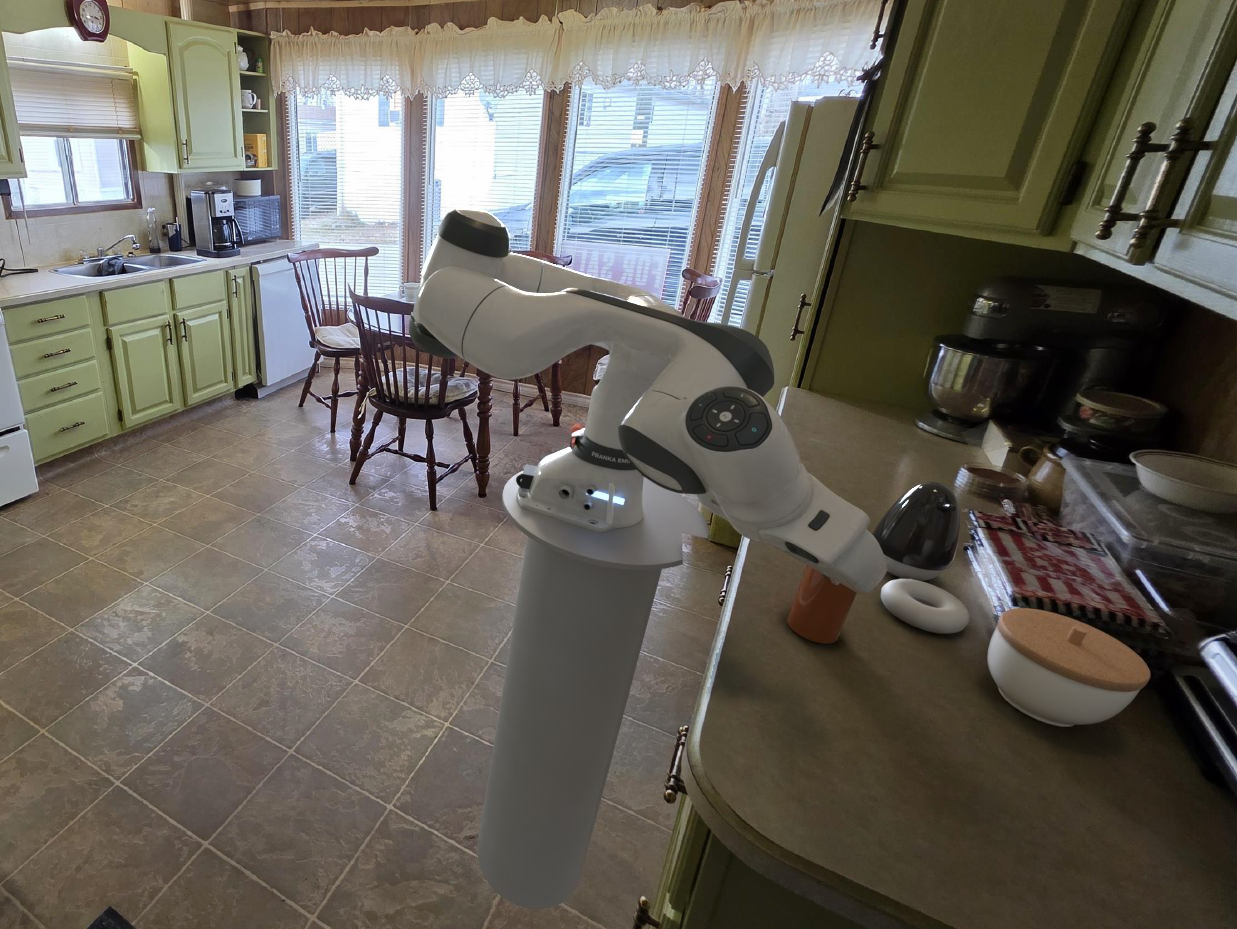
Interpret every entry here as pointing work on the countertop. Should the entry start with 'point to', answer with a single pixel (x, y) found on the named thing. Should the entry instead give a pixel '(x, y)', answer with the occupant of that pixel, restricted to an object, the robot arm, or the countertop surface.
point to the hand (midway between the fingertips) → (795, 555)
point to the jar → (820, 608)
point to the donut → (924, 606)
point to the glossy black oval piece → (920, 532)
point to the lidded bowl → (1062, 668)
